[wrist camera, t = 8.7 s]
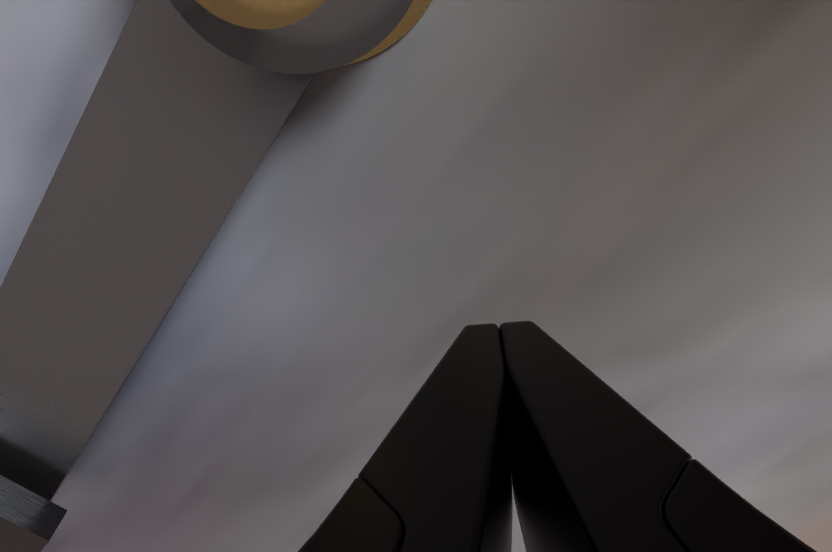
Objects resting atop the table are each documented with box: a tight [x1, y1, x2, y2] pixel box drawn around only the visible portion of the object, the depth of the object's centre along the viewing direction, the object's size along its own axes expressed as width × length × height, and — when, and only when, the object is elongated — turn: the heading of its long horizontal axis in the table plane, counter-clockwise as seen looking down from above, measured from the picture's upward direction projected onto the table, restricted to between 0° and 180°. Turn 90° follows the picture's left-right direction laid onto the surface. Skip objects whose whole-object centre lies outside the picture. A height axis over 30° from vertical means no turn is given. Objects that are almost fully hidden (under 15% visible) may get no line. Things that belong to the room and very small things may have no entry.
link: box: [0, 0, 413, 501], centre depth 20 cm, size 24×6×3 cm, turn 145°
